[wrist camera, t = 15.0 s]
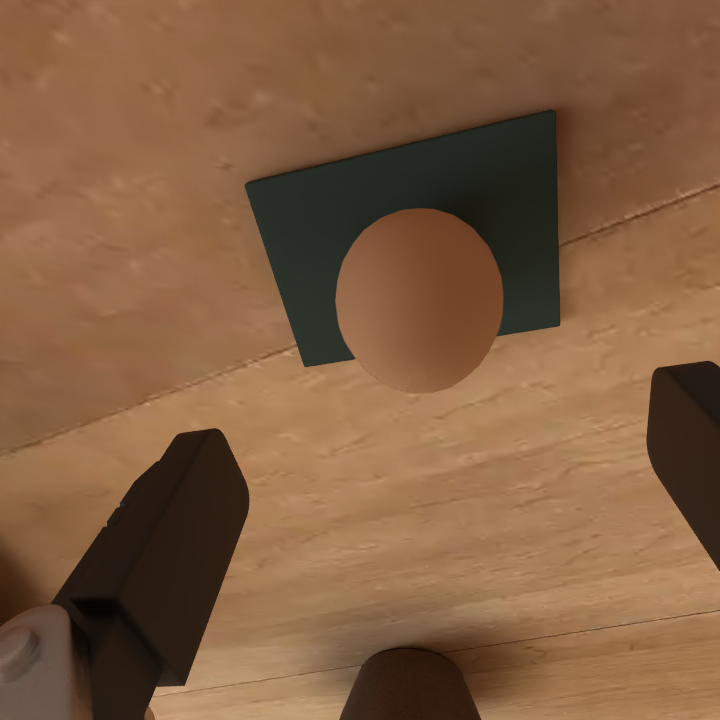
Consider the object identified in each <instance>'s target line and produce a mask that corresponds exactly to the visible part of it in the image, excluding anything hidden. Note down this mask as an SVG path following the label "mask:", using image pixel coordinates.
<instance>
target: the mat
mask: <svg viewBox="0 0 720 720" xmlns="http://www.w3.org/2000/svg"><path fill="white" fill-rule="evenodd" d="M245 188H246V191H247V194H248V197H249V200H250V204H251V207H252V210H253V213H254V216H255V219H256V222H257V225H258V228H259V231H260V234H261V237H262V240H263V243H264V246H265V249H266V252H267V255H268V258H269V261H270V264H271V267H272V270H273V273H274V276H275V279H276V282H277V285H278V288H279V291H280V294H281V297H282V300H283V303H284V307H285V310H286V313H287V316H288V319H289V322H290V325H291V328H292V331H293V334H294V337H295V340H296V343H297V346H298V349H299V352H300V355H301V358H302V361H303V364H304V367H310V366H316V365H322V364H328V363H334V362H340V361H347V360H353V359H356V358H355V357H354V355H353V354H352V352H351V351H350V349H349V347H348V346H347V344H346V343H345V341H344V338H343V336H342V333H341V331H340V328H339V324H338V318H337V310H336V302H335V299H336V290H337V281H338V277H339V273H340V270H341V266H342V262H343V260H344V258H345V256H346V255H347V253H348V251H349V250H350V248H351V246H352V244H353V243H354V242H355V240H356V239H357V238H358V237H359V236H360V234H361V233H362V232H363V231H364V230H365V229H366V228H368V227H369V226H370V225H372V224H373V223H374V222H376V221H377V220H379V219H380V218H382V217H384V216H387V215H389V214H392V213H395V212H397V211H400V210H405V209H416V208H422V209H436V210H439V211H442V212H445V213H448V214H451V215H454V216H456V217H457V218H459V219H460V220H462V221H463V222H465V223H466V224H468V225H469V226H471V227H472V228H473V229H474V230H475V231H476V232H477V233H478V235H479V236H480V237H481V238H482V239H483V240H484V242H485V243H486V244H487V245H488V246H489V248H490V250H491V252H492V255H493V257H494V259H495V261H496V263H497V266H498V269H499V272H500V275H501V278H502V287H503V316H502V320H501V324H500V328H499V331H498V333H497V335H496V336H501V335H507V334H513V333H520V332H526V331H532V330H538V329H544V328H551V327H557V326H560V289H559V242H558V196H557V149H556V111H555V110H547V111H542V112H538V113H534V114H530V115H526V116H522V117H517V118H513V119H509V120H505V121H501V122H497V123H492V124H488V125H484V126H480V127H476V128H472V129H467V130H463V131H459V132H455V133H451V134H447V135H442V136H438V137H434V138H430V139H426V140H422V141H417V142H413V143H409V144H405V145H401V146H397V147H392V148H388V149H384V150H380V151H376V152H372V153H367V154H363V155H359V156H355V157H351V158H347V159H342V160H338V161H334V162H330V163H326V164H322V165H317V166H313V167H309V168H305V169H301V170H296V171H292V172H288V173H284V174H280V175H276V176H271V177H267V178H263V179H259V180H255V181H251V182H248V183H246V184H245Z"/></svg>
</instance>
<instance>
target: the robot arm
mask: <svg viewBox="0 0 720 720" xmlns="http://www.w3.org/2000/svg"><path fill="white" fill-rule="evenodd" d="M647 450H648V455H649V458H650V461H651V464H652V467H653V469H654V471H655V473H656V475H657V476H658V478H659V479H660V481H661V483H662V484H663V486H664V487H665V489H666V490H667V492H668V493H669V495H670V496H671V498H672V499H673V501H674V502H675V504H676V505H677V507H678V508H679V510H680V511H681V513H682V515H683V516H684V518H685V519H686V521H687V522H688V524H689V525H690V527H691V528H692V530H693V531H694V533H695V534H696V536H697V537H698V539H699V540H700V542H701V543H702V545H703V547H704V548H705V550H706V551H707V553H708V554H709V556H710V557H711V559H712V560H713V562H714V563H715V565H716V566H717V568H718V569H719V571H720V367H719V366H718V365H716V364H715V363H713V362H711V361H703V362H696V363H688V364H681V365H674V366H667V367H660V368H657V369H656V370H655V371H654V373H653V376H652V381H651V393H650V404H649V416H648V427H647ZM248 510H249V491H248V487H247V484H246V481H245V479H244V477H243V475H242V472H241V470H240V468H239V466H238V464H237V462H236V460H235V457H234V455H233V453H232V451H231V449H230V447H229V444H228V442H227V440H226V438H225V436H224V434H223V433H222V432H221V431H220V430H219V429H216V428H214V429H206V430H199V431H192V432H185V433H180V434H178V435H177V436H176V437H175V438H174V439H173V441H172V442H171V444H170V445H169V447H168V448H167V450H166V452H165V453H164V455H163V456H162V458H161V459H160V461H157V462H156V463H155V464H153V465H152V466H151V467H150V468H149V469H148V470H147V471H146V472H145V473H143V474H142V475H141V476H140V477H139V478H138V479H137V480H136V481H135V482H134V483H133V485H132V486H131V488H130V489H129V490H128V492H127V493H126V495H125V496H124V498H123V499H122V501H121V502H120V507H119V508H116V509H115V511H114V512H113V514H112V515H111V517H110V518H109V520H108V521H107V527H103V528H102V530H101V531H100V533H99V534H98V536H97V537H96V538H95V540H94V541H93V543H92V544H91V546H90V547H89V549H88V550H87V552H86V553H85V554H84V556H83V557H82V559H81V560H80V562H79V563H78V565H77V566H76V568H75V569H74V570H73V572H72V573H71V575H70V576H69V578H68V579H67V581H66V582H65V584H64V585H63V586H62V588H61V589H60V591H59V592H58V594H57V595H56V597H55V598H54V600H53V601H52V602H51V604H47V605H41V606H37V607H34V608H31V609H29V610H26V611H24V612H22V613H20V614H19V615H17V616H15V617H13V618H12V619H10V620H9V621H7V622H6V623H5V624H3V625H2V626H0V720H155V717H154V714H153V712H152V710H151V708H150V707H149V706H148V705H149V703H150V700H151V698H152V695H153V693H154V691H155V688H156V687H163V686H185V683H186V680H187V678H188V675H189V672H190V670H191V667H192V664H193V661H194V659H195V656H196V653H197V651H198V648H199V645H200V642H201V640H202V637H203V634H204V631H205V629H206V626H207V623H208V621H209V618H210V615H211V612H212V610H213V607H214V604H215V602H216V599H217V596H218V593H219V591H220V588H221V585H222V583H223V580H224V577H225V574H226V572H227V569H228V566H229V564H230V561H231V558H232V555H233V553H234V550H235V547H236V544H237V542H238V539H239V536H240V534H241V531H242V528H243V525H244V523H245V520H246V517H247V514H248Z"/></svg>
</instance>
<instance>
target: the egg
mask: <svg viewBox="0 0 720 720" xmlns="http://www.w3.org/2000/svg"><path fill="white" fill-rule="evenodd" d="M335 302H336V310H337V318H338V324H339V328H340V331H341V333H342V336H343V338H344V341H345V343H346V344H347V346H348V347H349V349H350V351H351V352H352V354H353V355H354V357H355V358H356V360H357V361H358V362H359V363H360V364H361V366H362V367H363V368H364V369H365V370H366V371H367V372H368V373H369V374H371V375H372V376H373V377H375V378H376V379H378V380H379V381H380V382H382V383H383V384H385V385H388V386H390V387H392V388H394V389H396V390H399V391H403V392H408V393H432V392H436V391H439V390H443V389H447V388H449V387H452V386H453V385H455V384H456V383H458V382H459V381H461V380H462V379H464V378H465V377H467V376H468V375H469V374H470V373H471V372H472V371H473V370H474V369H476V368H477V367H478V366H479V365H480V363H481V362H482V360H483V359H484V357H485V356H486V354H487V353H488V352H489V350H490V348H491V346H492V344H493V342H494V339H495V337H496V335H497V333H498V331H499V328H500V324H501V320H502V316H503V287H502V278H501V275H500V272H499V269H498V266H497V263H496V261H495V259H494V257H493V255H492V252H491V250H490V248H489V246H488V245H487V244H486V243H485V242H484V240H483V239H482V238H481V237H480V236H479V235H478V233H477V232H476V231H475V230H474V229H473V228H472V227H471V226H469V225H468V224H466V223H465V222H463V221H462V220H460V219H459V218H457V217H456V216H454V215H451V214H448V213H445V212H442V211H439V210H436V209H422V208H416V209H405V210H400V211H397V212H395V213H392V214H389V215H387V216H384V217H382V218H380V219H379V220H377V221H376V222H374V223H373V224H372V225H370V226H369V227H368V228H366V229H365V230H364V231H363V232H362V233H361V234H360V236H359V237H358V238H357V239H356V240H355V242H354V243H353V244H352V246H351V248H350V250H349V251H348V253H347V255H346V256H345V258H344V260H343V262H342V266H341V270H340V273H339V277H338V281H337V290H336V299H335Z"/></svg>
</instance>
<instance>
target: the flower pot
mask: <svg viewBox="0 0 720 720" xmlns="http://www.w3.org/2000/svg"><path fill="white" fill-rule="evenodd" d="M339 720H481V718H480V715H479V713H478V711H477V708H476V706H475V703H474V701H473V699H472V696H471V694H470V692H469V689H468V687H467V685H466V683H465V681H464V679H463V676H462V674H461V672H460V670H459V669H458V668H457V667H456V666H455V665H454V664H453V663H452V662H451V661H449V660H447V659H446V658H444V657H442V656H439V655H437V654H434V653H431V652H427V651H422V650H414V649H397V650H389V651H385V652H381V653H379V654H376V655H374V656H372V657H371V658H369V659H368V660H367V661H366V662H365V663H364V664H363V666H362V668H361V670H360V672H359V674H358V677H357V679H356V681H355V683H354V685H353V688H352V690H351V692H350V695H349V697H348V700H347V702H346V704H345V707H344V709H343V711H342V714H341V717H340V719H339Z"/></svg>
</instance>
